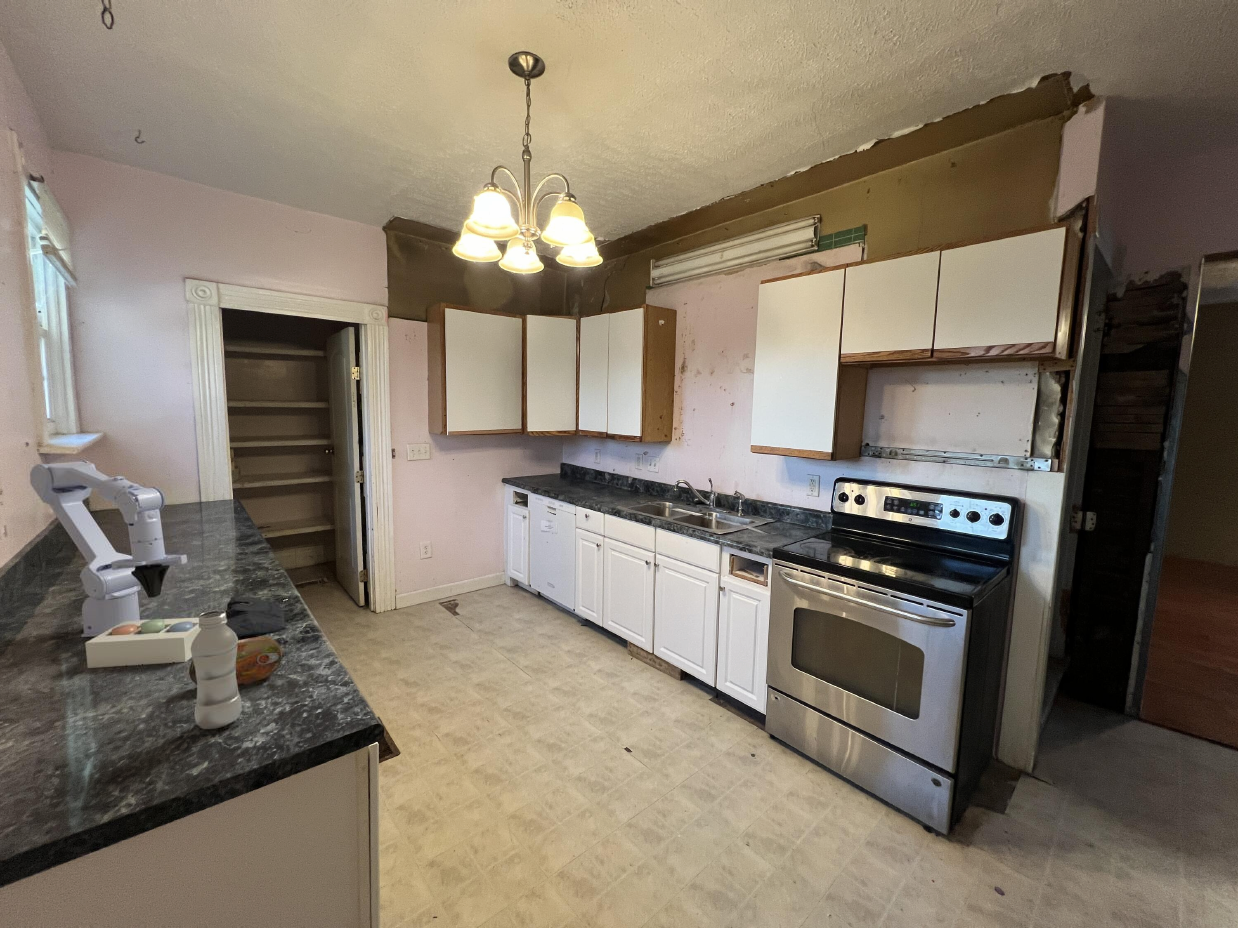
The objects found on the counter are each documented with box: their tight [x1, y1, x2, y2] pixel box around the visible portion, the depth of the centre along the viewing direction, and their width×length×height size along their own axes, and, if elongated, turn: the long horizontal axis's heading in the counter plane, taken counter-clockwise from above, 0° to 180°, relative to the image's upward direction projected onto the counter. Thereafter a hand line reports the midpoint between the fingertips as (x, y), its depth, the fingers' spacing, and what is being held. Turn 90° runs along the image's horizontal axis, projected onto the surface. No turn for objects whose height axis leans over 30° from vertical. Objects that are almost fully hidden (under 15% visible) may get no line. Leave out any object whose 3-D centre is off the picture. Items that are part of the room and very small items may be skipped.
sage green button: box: [140, 618, 165, 634], centre depth 116 cm, size 4×4×3 cm
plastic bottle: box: [191, 609, 243, 730], centre depth 91 cm, size 6×7×20 cm
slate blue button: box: [169, 621, 193, 632], centre depth 117 cm, size 4×4×3 cm
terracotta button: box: [111, 624, 137, 636], centre depth 115 cm, size 4×4×3 cm
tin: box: [188, 636, 283, 686], centre depth 105 cm, size 15×3×8 cm, turn 117°
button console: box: [84, 617, 201, 669], centre depth 116 cm, size 18×11×6 cm, turn 101°
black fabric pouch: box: [223, 596, 287, 638], centre depth 133 cm, size 15×22×5 cm
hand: (154, 596), depth 123 cm, fingers closed
